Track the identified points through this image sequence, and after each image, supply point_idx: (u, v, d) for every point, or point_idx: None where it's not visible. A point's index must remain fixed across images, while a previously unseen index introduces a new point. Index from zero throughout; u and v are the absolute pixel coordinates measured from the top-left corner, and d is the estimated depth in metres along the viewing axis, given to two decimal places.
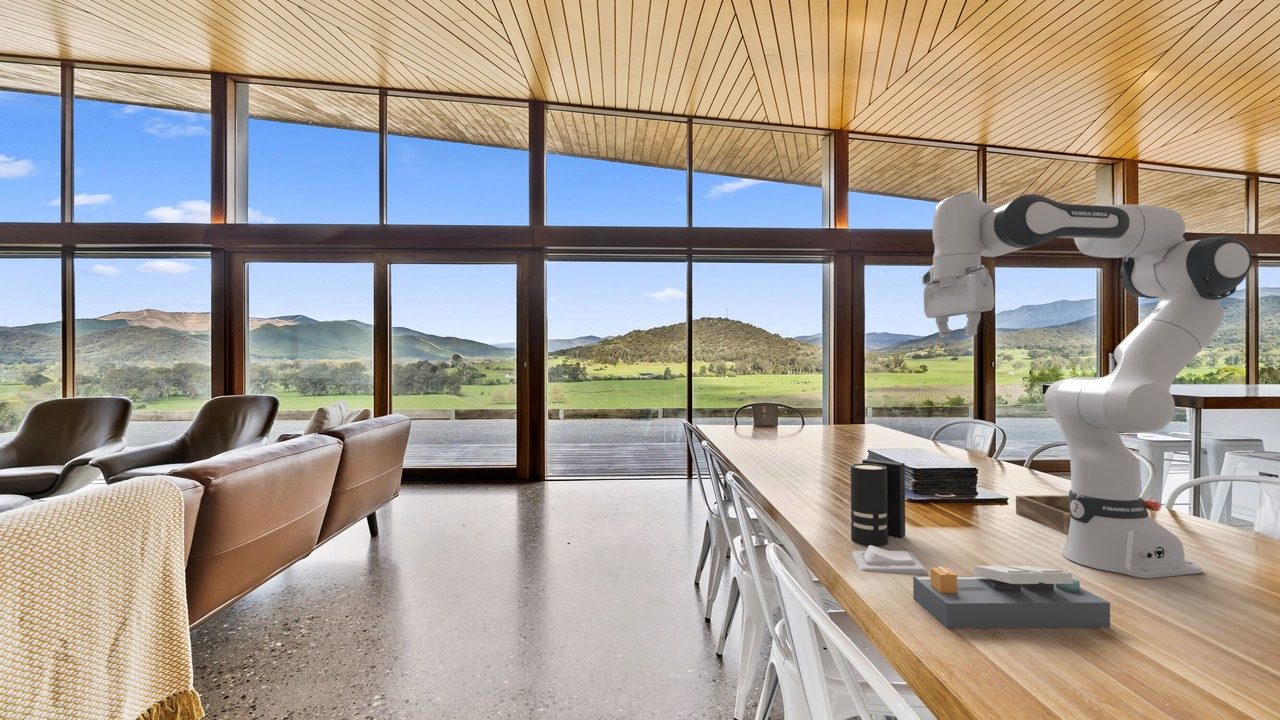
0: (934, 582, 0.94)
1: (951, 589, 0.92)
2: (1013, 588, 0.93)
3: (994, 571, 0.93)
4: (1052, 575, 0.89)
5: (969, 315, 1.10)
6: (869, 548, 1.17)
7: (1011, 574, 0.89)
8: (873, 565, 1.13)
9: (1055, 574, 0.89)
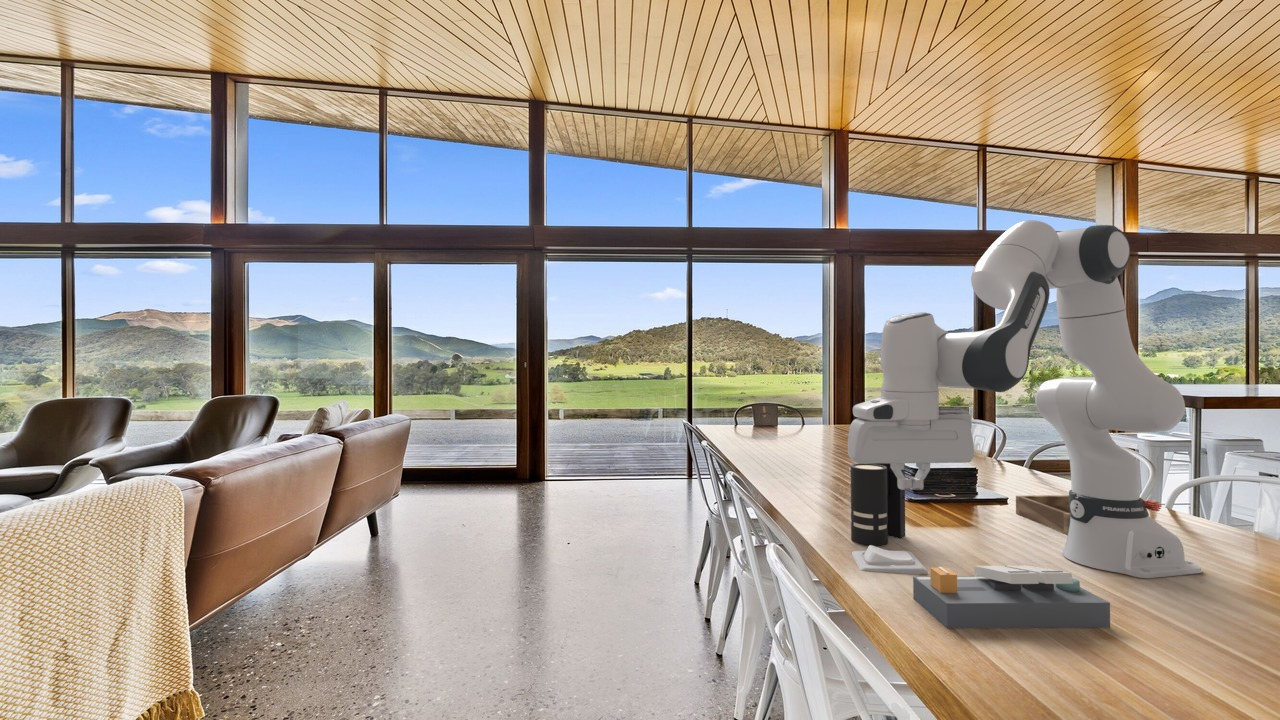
0: (934, 582, 0.94)
1: (951, 589, 0.92)
2: (1013, 588, 0.93)
3: (994, 571, 0.93)
4: (1052, 575, 0.89)
5: (927, 466, 0.92)
6: (869, 548, 1.17)
7: (1011, 574, 0.89)
8: (873, 565, 1.13)
9: (1055, 574, 0.89)
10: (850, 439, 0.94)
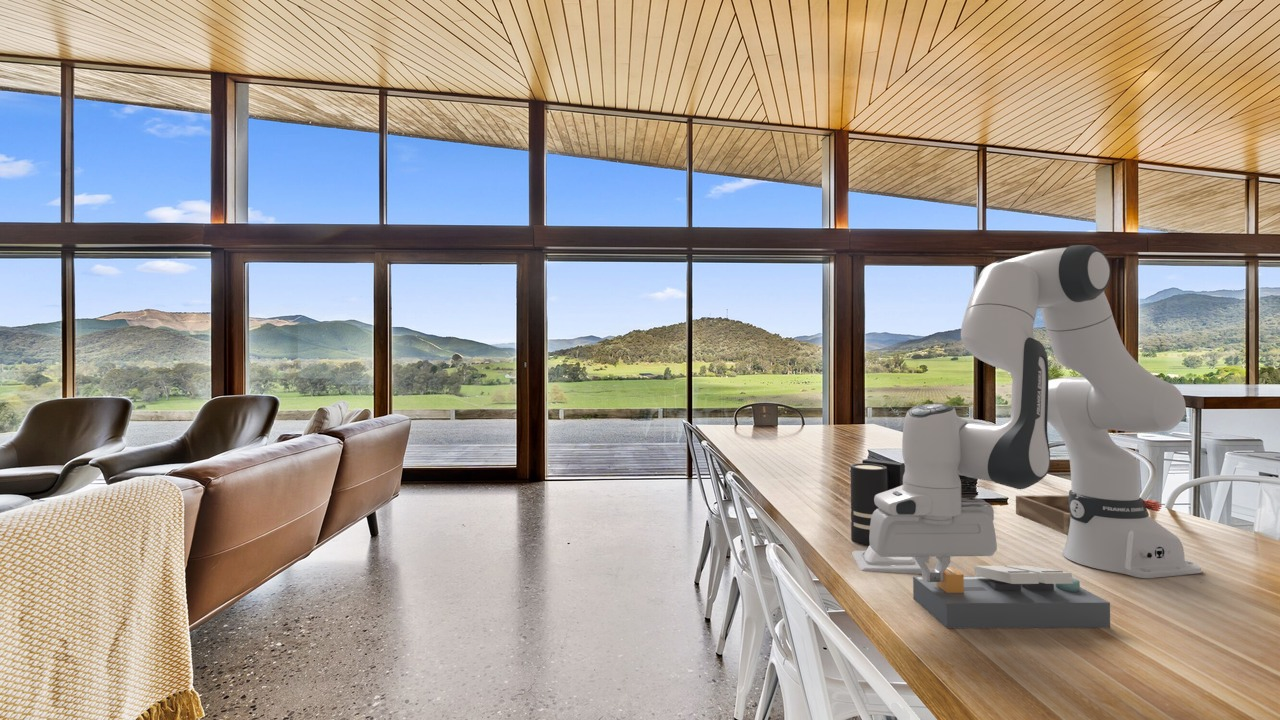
0: (940, 582, 0.94)
1: (957, 589, 0.92)
2: (1013, 588, 0.93)
3: (994, 571, 0.93)
4: (1052, 575, 0.89)
5: (947, 559, 0.92)
6: (869, 548, 1.17)
7: (1011, 574, 0.89)
8: (873, 565, 1.13)
9: (1055, 574, 0.89)
10: (872, 531, 0.94)
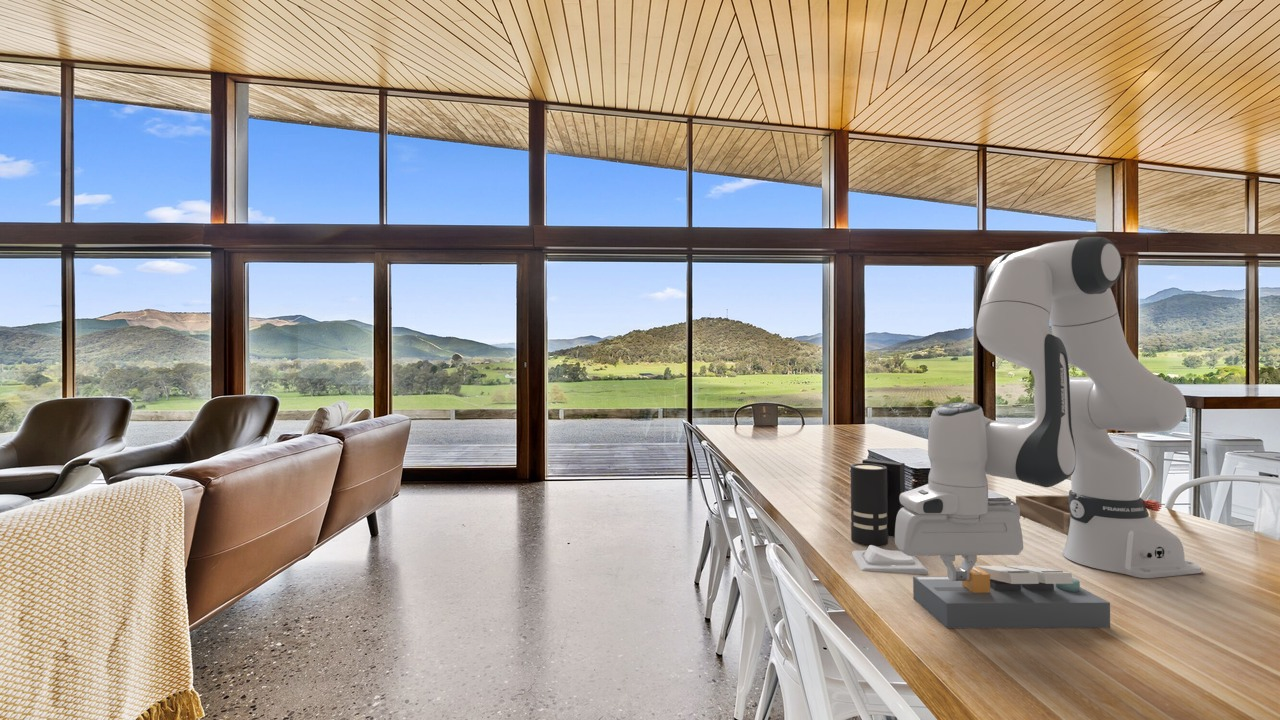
0: (966, 582, 0.94)
1: (984, 589, 0.92)
2: (1013, 588, 0.93)
3: (994, 571, 0.93)
4: (1052, 575, 0.89)
5: (974, 558, 0.92)
6: (869, 548, 1.17)
7: (1011, 574, 0.89)
8: (874, 565, 1.13)
9: (1055, 574, 0.89)
10: (897, 529, 0.94)
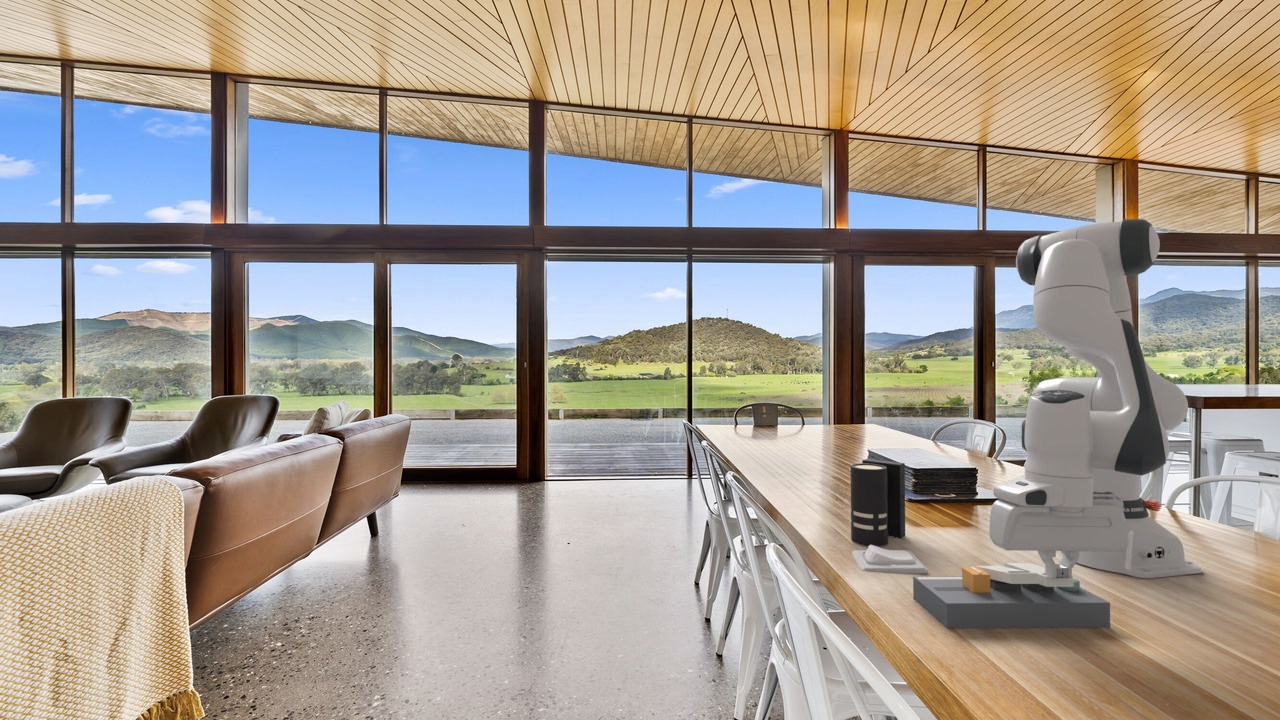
0: (966, 582, 0.94)
1: (984, 589, 0.92)
2: (1013, 588, 0.93)
3: (994, 571, 0.93)
4: (1053, 579, 0.88)
5: (1076, 554, 0.87)
6: (870, 548, 1.17)
7: (1011, 574, 0.89)
8: (874, 565, 1.13)
9: None
10: (993, 523, 0.89)
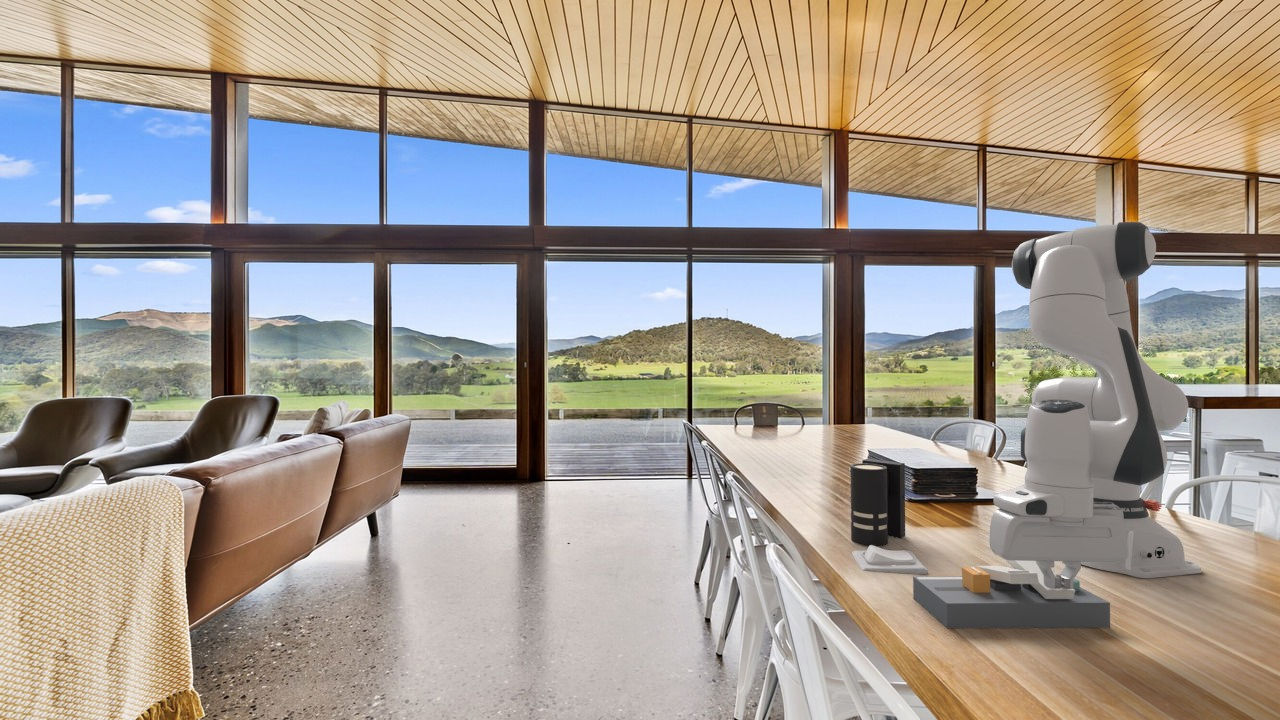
0: (966, 582, 0.94)
1: (984, 589, 0.92)
2: (1013, 588, 0.93)
3: (994, 571, 0.93)
4: (1055, 592, 0.88)
5: (1078, 565, 0.87)
6: (870, 548, 1.17)
7: (1011, 574, 0.89)
8: (874, 565, 1.13)
9: (1058, 591, 0.88)
10: (994, 532, 0.89)
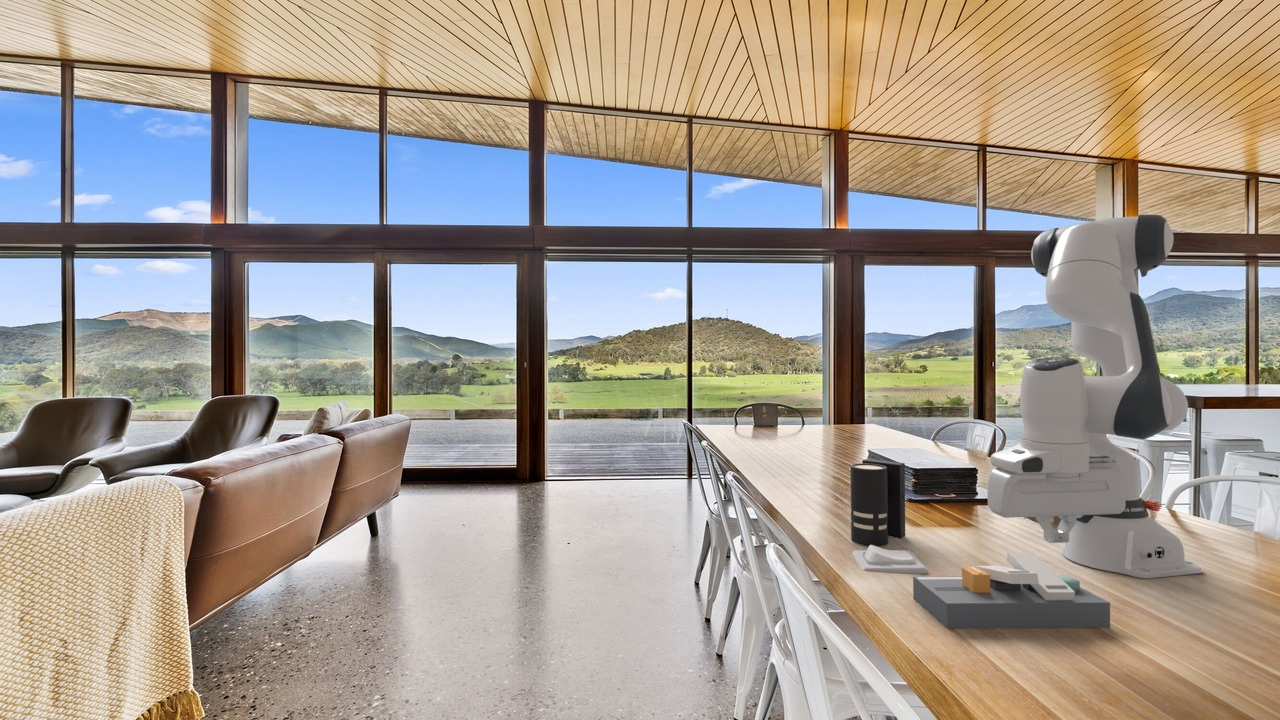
0: (966, 582, 0.94)
1: (984, 589, 0.92)
2: (1013, 588, 0.93)
3: (994, 571, 0.93)
4: (1055, 594, 0.88)
5: (1074, 518, 0.88)
6: (870, 548, 1.18)
7: (1011, 574, 0.89)
8: (874, 565, 1.13)
9: (1058, 593, 0.88)
10: (991, 491, 0.90)
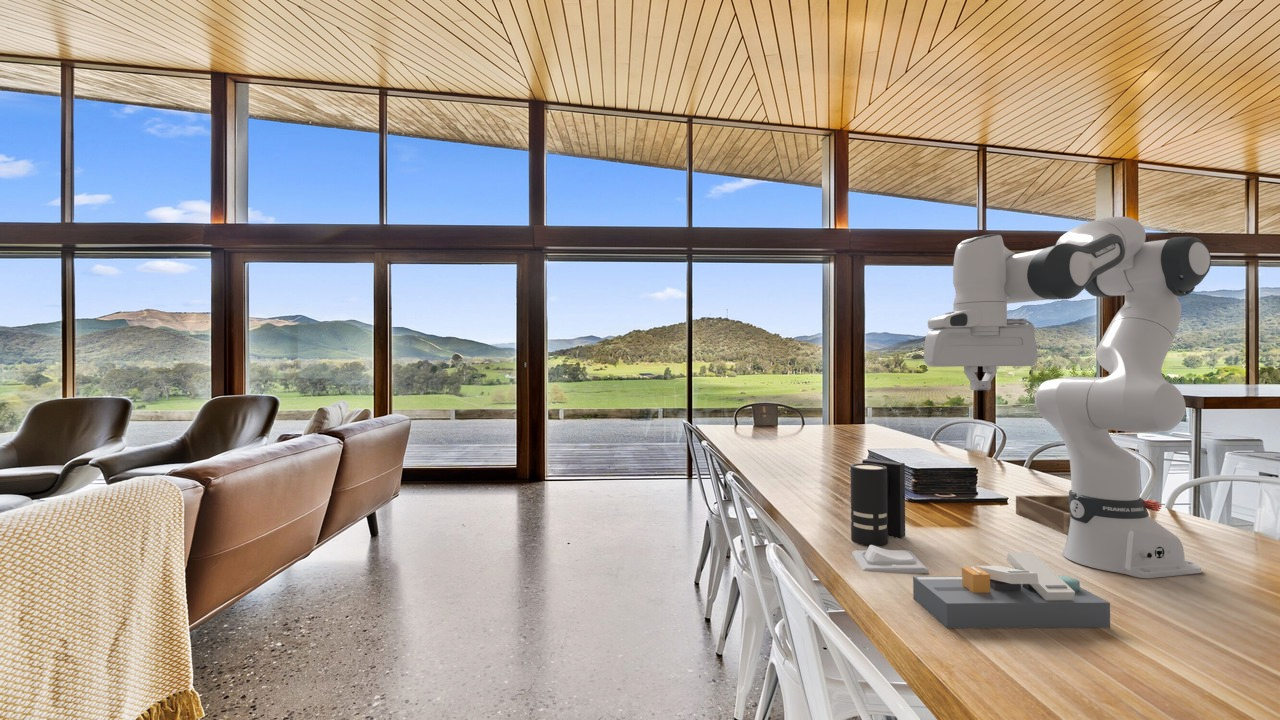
0: (966, 582, 0.94)
1: (984, 589, 0.92)
2: (1013, 588, 0.93)
3: (994, 571, 0.93)
4: (1055, 594, 0.88)
5: (994, 369, 1.05)
6: (870, 548, 1.18)
7: (1011, 574, 0.89)
8: (875, 565, 1.13)
9: (1058, 593, 0.88)
10: (926, 347, 1.07)
